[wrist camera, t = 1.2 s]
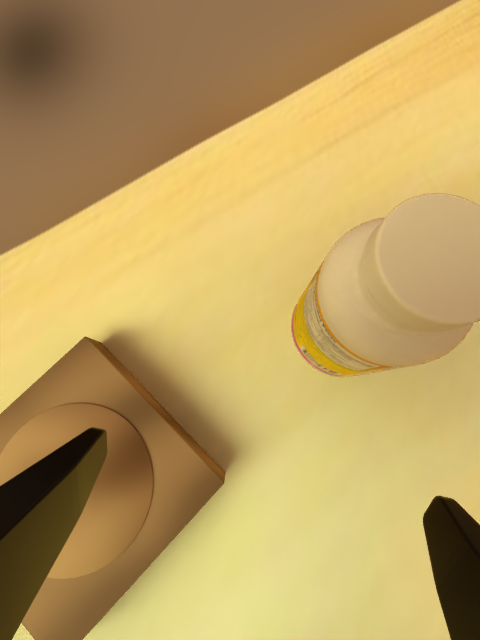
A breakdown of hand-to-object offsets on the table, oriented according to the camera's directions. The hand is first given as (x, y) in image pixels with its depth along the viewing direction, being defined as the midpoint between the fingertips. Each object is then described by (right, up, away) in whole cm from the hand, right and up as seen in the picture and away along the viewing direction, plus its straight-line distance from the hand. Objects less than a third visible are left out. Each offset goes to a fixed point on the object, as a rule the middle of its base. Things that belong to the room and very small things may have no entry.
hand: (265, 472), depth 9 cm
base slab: (-10, -6, +12) cm, 17 cm away
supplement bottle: (+6, +3, +15) cm, 16 cm away
